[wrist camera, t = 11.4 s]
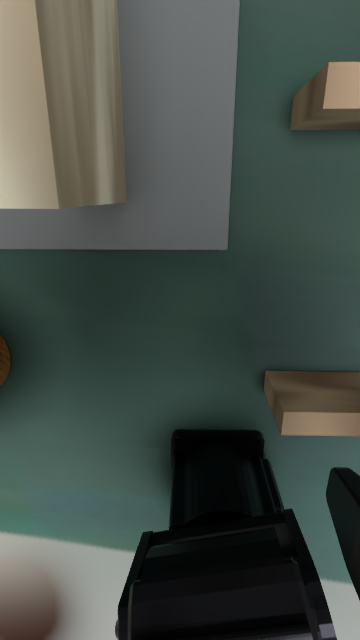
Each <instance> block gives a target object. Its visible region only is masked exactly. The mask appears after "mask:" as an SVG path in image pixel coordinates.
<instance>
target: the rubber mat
mask: <svg viewBox="0 0 360 640" xmlns="http://www.w3.org/2000/svg"><path fill="white" fill-rule="evenodd" d="M239 5H240V0H117V10H118V31H119V52H120V72H121V93H122V113H123V134H124V155H125V175H126V196H127V202H126V203H115V204H105V205H95V206H84V207H74V208H63V209H0V249H107V250H227V248H228V228H229V208H230V188H231V167H232V147H233V127H234V107H235V86H236V66H237V46H238V26H239Z"/></svg>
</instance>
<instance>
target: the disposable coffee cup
mask: <svg viewBox="0 0 360 640" xmlns="http://www.w3.org/2000/svg"><path fill="white" fill-rule="evenodd" d="M9 370H10V354H9V349H8V347H7V345H6V343H5V341H4V339H3V338H2V336H1V335H0V387H1V385H2V384H3V382H4V381H5V380H6V378H7V376H8V374H9Z"/></svg>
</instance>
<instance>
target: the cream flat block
mask: <svg viewBox="0 0 360 640" xmlns="http://www.w3.org/2000/svg"><path fill="white" fill-rule="evenodd" d="M126 202H127V196H126V175H125V155H124V134H123V113H122V93H121V72H120V52H119V31H118V10H117V0H0V209H63V208H74V207H84V206H95V205H105V204H115V203H126Z"/></svg>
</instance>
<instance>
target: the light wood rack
mask: <svg viewBox="0 0 360 640" xmlns="http://www.w3.org/2000/svg"><path fill="white" fill-rule="evenodd" d="M290 130H360V62H329V63H328V64H327V65H325V66H324V67H323V68H322V69H321V70H320V71H319V72H318V73H317V74H316V75H315V76H314V77H313V78H312V79H311V80H310V81H309V82H308V83H307V84H306V85H305V86H303V87H302V88H301V89H300V90H299V91H298V92H297V93H296V94H295V95H294V96H293V105H292V115H291V124H290ZM264 393H265V395H266V398H267V400H268V403H269V406H270V408H271V411H272V413H273V416H274V418H275V421H276V424H277V426H278V429H279V431H280V434H281V435H311V436H360V372H323V371H266V372H265V382H264Z"/></svg>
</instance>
